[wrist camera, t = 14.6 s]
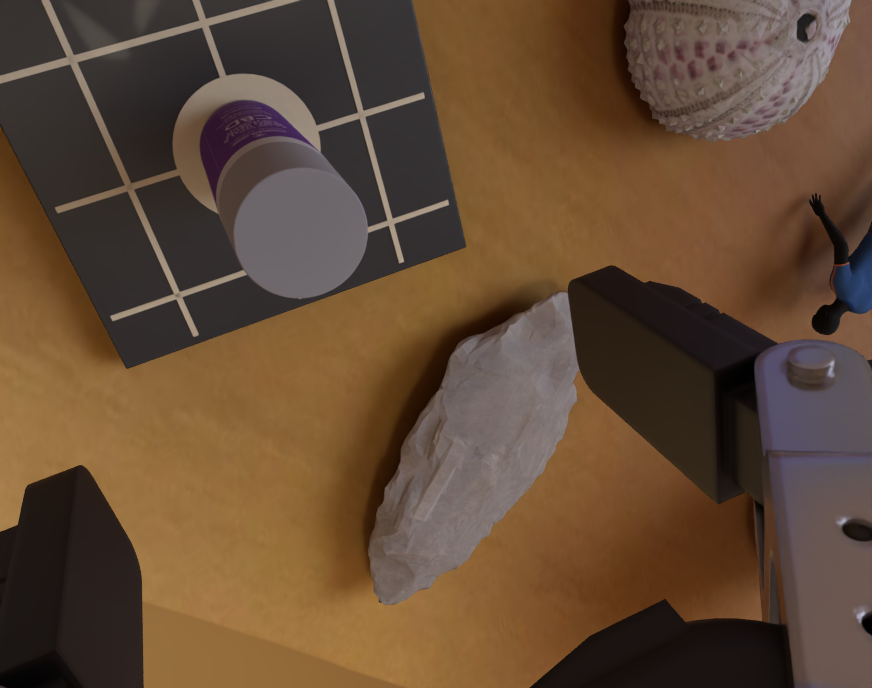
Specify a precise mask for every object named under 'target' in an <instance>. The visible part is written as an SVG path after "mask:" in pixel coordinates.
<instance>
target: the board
mask: <svg viewBox="0 0 872 688" xmlns="http://www.w3.org/2000/svg"><path fill="white" fill-rule="evenodd" d="M236 100H254V101H259V102H262V103H264V104H266V105H268V106H270V107H272V108H273V109H275V110H276V111H277V112H279V113H280V114H281V115H282V116H283V117H284V118H285V119H286V120H287V121H288V122H289V123H290V124H291V125H292V126H293V127H294V128H295V129H297V130H298V131H299V132H300V133H301V134H302V135H303V136H304V137H305V138H306V139H307V140H308V141H309V142H310V143H311V144H312V145H313V146H314V147H315V148H316V149H317V150H318V151H319V152H320V153H321V154H322V155H323V156H324V157H325V158H326V159H327V160H328V162H329V163H330V164H331V165H332V167H333V168H334V169H335V170H336V171H337V172H338V174H339V175H340V176H341V177H342V178H343V179H344V181H345V182H346V183H347V184H348V185H349V186H350V188H351V189H352V190H353V191H354V192H355V194H356V195H357V196H358V198H359V200H360V202H361V203H362V206H363V208H364V211H365V214H366V218H367V224H368V238H367V244H366V248H365V252H364V254H363V257H362V259H361V261H360V263H359V265H358V266H357V268H356V269H355V271H354V272H353V273H352V274H351V275H350V277H349V278H347V279H346V280H345V281H344V282H343V283H342V284H340V285H339V286H338V287H336V288H334V289H333V290H331V291H329V292H327V293H324V294H321V295H318V296H314V297H309V298H288V297H283V296H279V295H276V294H273V293H271V292H269V291H267V290H265V289H263V288H262V287H260V286H259V285H257V284H256V283H255V282H254V281H253V280H252V279H251V278H250V277H249V276H248V275H247V274H246V273H245V271H244V270H243V268H242V267H241V265H240V263H239V261H238V259H237V256H236V254H235V252H234V249H233V247H232V245H231V242H230V240H229V238H228V235H227V233H226V231H225V228H224V226H223V224H222V221H221V219H220V216H219V214H218V211H217V207H216V204H215V201H214V198H213V195H212V192H211V188H210V185H209V182H208V179H207V176H206V173H205V169H204V166H203V163H202V160H201V155H200V147H199V143H200V135H201V131H202V128H203V126H204V124H205V122H206V120H207V119H208V117H209V116H210V115H211V114H212V113H213V112H214V111H215V110H216V109H218V108H219V107H221V106H222V105H224V104H226V103H229V102H232V101H236ZM0 126H1V128H2V130H3V132H4V134H5V135H6V137H7V139H8V141H9V143H10V145H11V147H12V149H13V151H14V153H15V155H16V157H17V159H18V161H19V162H20V164H21V166H22V168H23V170H24V172H25V174H26V176H27V178H28V180H29V182H30V184H31V186H32V188H33V190H34V191H35V193H36V195H37V197H38V199H39V201H40V203H41V205H42V207H43V209H44V211H45V213H46V215H47V217H48V218H49V220H50V222H51V224H52V226H53V228H54V230H55V232H56V234H57V236H58V238H59V240H60V242H61V244H62V245H63V247H64V249H65V251H66V253H67V255H68V257H69V259H70V261H71V263H72V265H73V267H74V269H75V271H76V272H77V274H78V276H79V278H80V280H81V282H82V284H83V286H84V288H85V290H86V292H87V294H88V296H89V298H90V299H91V301H92V303H93V305H94V307H95V309H96V311H97V313H98V315H99V317H100V319H101V321H102V323H103V325H104V326H105V328H106V330H107V332H108V334H109V336H110V338H111V340H112V342H113V344H114V346H115V348H116V350H117V352H118V354H119V355H120V357H121V359H122V361H123V363H124V365H125V367H126V368H127V369H128V368H131V367H134V366H136V365H139V364H142V363H145V362H148V361H150V360H153V359H156V358H159V357H161V356H164V355H167V354H170V353H173V352H175V351H178V350H181V349H184V348H187V347H189V346H192V345H195V344H198V343H200V342H203V341H206V340H209V339H212V338H214V337H217V336H220V335H223V334H225V333H228V332H231V331H234V330H237V329H239V328H242V327H245V326H248V325H251V324H253V323H256V322H259V321H262V320H264V319H267V318H270V317H273V316H276V315H278V314H281V313H284V312H287V311H289V310H292V309H295V308H298V307H301V306H303V305H306V304H309V303H312V302H315V301H317V300H320V299H323V298H326V297H328V296H331V295H334V294H337V293H340V292H342V291H345V290H348V289H351V288H353V287H356V286H359V285H362V284H365V283H367V282H370V281H373V280H376V279H379V278H381V277H384V276H387V275H390V274H392V273H395V272H398V271H401V270H404V269H406V268H409V267H412V266H415V265H417V264H420V263H423V262H426V261H429V260H431V259H434V258H437V257H440V256H443V255H445V254H448V253H451V252H454V251H456V250H459V249H462V248H465V247H466V243H465V239H464V234H463V230H462V225H461V221H460V216H459V211H458V207H457V202H456V198H455V193H454V189H453V184H452V180H451V175H450V171H449V166H448V162H447V157H446V152H445V148H444V143H443V139H442V134H441V130H440V125H439V121H438V116H437V112H436V107H435V103H434V98H433V93H432V89H431V84H430V80H429V75H428V71H427V66H426V62H425V57H424V53H423V48H422V43H421V39H420V34H419V30H418V25H417V21H416V16H415V12H414V7H413V3H412V0H0Z"/></svg>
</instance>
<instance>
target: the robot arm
mask: <svg viewBox="0 0 872 688" xmlns="http://www.w3.org/2000/svg"><path fill="white" fill-rule="evenodd" d="M568 300H569V307H570V314H571V321H572V328H573V335H574V342H575V349H576V357H577V362H578V366H579V369H580V372H581V374H582V376H583V378H584V380H585V382H586V384H587V385H588V387H589V388H590V389H591V391H592V392H593V393H594V394H595V395H596V396H597V397H599V398H600V399H601V400H602V401H603V402H604V403H605V404H606V405H607V406H609V407H610V408H611V409H612V410H613V411H614V412H615V413H616V414H617V415H619V416H620V417H621V418H622V419H623V420H624V421H625V422H626V423H628V424H629V425H630V426H631V427H632V428H633V429H634V430H635V431H636V432H638V433H639V434H640V435H641V436H642V437H643V438H644V439H645V440H646V441H648V442H649V443H650V444H651V445H652V446H653V447H654V448H655V449H656V450H658V451H659V452H660V453H661V454H662V455H663V456H664V457H665V458H666V459H668V460H669V461H670V462H671V463H672V464H673V465H674V466H675V467H677V468H678V469H679V470H680V471H681V472H682V473H683V474H684V475H685V476H687V477H688V478H689V479H690V480H691V481H692V482H693V483H694V484H695V485H697V486H698V487H699V488H700V489H701V490H702V491H703V492H704V493H705V494H707V495H708V496H709V497H710V498H711V499H712V500H713V501H714V502H716V503H717V504H720V503H723V502H725V501H727V500H729V499H731V498H733V497H735V496H737V495H740V494H742V493H744V492H746V493H748V494H749V495H750V496H751V497H752V498H754V525H755V538H756V550H757V562H758V574H759V586H760V598H761V610H762V621H756V620H746V619H733V618H714V619H704V620H694V621H689V622H685V621H684V620H683V619H682V618H681V617H680V616H679V615H678V613H677V612H676V611H675V610H674V609H673V608H672V606H671V605H670V604H669V603H668V602H667V601H666V599H664V600H662V601H660V602H658V603H656V604H654V605H652V606H650V607H648V608H646V609H644V610H642V611H640V612H638V613H636V614H634V615H632V616H630V617H627V618H625V619H623V620H621V621H619V622H617V623H615V624H613V625H611V626H609V627H607V628H605V629H603V630H601V631H599V632H597V633H595V634H593V635H591V636H589V637H588V638H587V639H586V640H585V641H584V642H582V643H581V644H580V645H579V646H578V647H577V648H575V649H574V650H573V651H572V652H571V653H570V654H568V655H567V656H566V657H565V658H564V659H563V660H561V661H560V662H559V663H558V664H557V665H556V666H554V667H553V668H552V669H551V670H550V671H549V672H547V673H546V674H545V675H544V676H543V677H542V678H540V679H539V680H538V681H537V682H536V683H535V684H533V685H532V686H531V687H530V688H872V360H868V361H867V360H866V359H865V358H864V357H863V356H862V355H861V354H860V353H858V352H857V351H855V350H853V349H851V348H849V347H846V346H844V345H841V344H837V343H834V342H829V341H822V340H794V341H788V342H784V343H780V344H778V343H776V342H774V341H773V340H771V339H769V338H767V337H766V336H764V335H762V334H760V333H758V332H757V331H755V330H753V329H751V328H750V327H748V326H746V325H744V324H742V323H741V322H739V321H737V320H735V319H734V318H732V317H730V316H728V315H727V314H725V313H722V314H720V312H719V310H718V309H716V308H714V307H712V306H711V305H709V304H707V303H703V304H702V302H701V300H700V299H698V298H696V297H695V296H693V295H691V294H689V293H688V292H686V291H684V290H682V289H681V288H678V287H674V286H669V285H665V284H660V283H656V282H652V281H648V282H646V283H643V282H641V281H640V280H638V279H636V278H635V277H633V276H631V275H630V274H628V273H626V272H625V271H623V270H621V269H620V268H618V267H616V266H612V265H611V266H608V267H605V268H602V269H600V270H597V271H594V272H592V273H589V274H586V275H584V276H581V277H579V278H576V279H573V280H571V281H570V283H569V285H568ZM0 688H144V686H143V624H142V577H141V570H140V566H139V562H138V559H137V556H136V553H135V550H134V548H133V545H132V543H131V541H130V539H129V538H128V536H127V534H126V532H125V531H124V529H123V527H122V526H121V524H120V522H119V521H118V519H117V517H116V515H115V514H114V512H113V510H112V509H111V507H110V505H109V504H108V502H107V500H106V498H105V497H104V495H103V493H102V492H101V490H100V488H99V487H98V485H97V483H96V481H95V480H94V478H93V477H92V475H91V474H90V472H89V471H88V470H87V469H86V468H85V467H84V466H82V465H79V466H76V467H74V468H71V469H68V470H66V471H63V472H60V473H58V474H55V475H53V476H50V477H47V478H45V479H42V480H39V481H37V482H34V483H31V484H29V485H28V486H27V487H26V489H25V493H24V498H23V503H22V507H21V512H20V517H19V522H18V525H17V526H14V527H12V528H9V529H7V530H4V531H1V532H0Z"/></svg>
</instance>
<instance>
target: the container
mask: <svg viewBox="0 0 872 688" xmlns="http://www.w3.org/2000/svg"><path fill="white" fill-rule="evenodd" d="M199 147H200V155H201V160H202V163H203V166H204V169H205V173H206V176H207V179H208V182H209V185H210V188H211V192H212V195H213V198H214V201H215V204H216V207H217V211H218V214H219V216H220V219H221V221H222V224H223V226H224V228H225V231H226V233H227V235H228V238H229V240H230V242H231V245H232V247H233V249H234V252H235V254H236V256H237V259H238V261H239V263H240V265H241V267H242V268H243V270H244V271H245V273H246V274H247V275H248V276H249V277H250V278H251V279H252V280H253V281H254V282H255V283H256V284H257V285H259V286H260V287H262V288H263V289H265V290H267V291H269V292H271V293H273V294H276V295H279V296H283V297H288V298H309V297H314V296H318V295H321V294H324V293H327V292H329V291H331V290H333V289H334V288H336V287H338V286H339V285H340V284H342V283H343V282H344V281H345V280H346V279H347V278H349V277H350V275H351V274H352V273H353V272H354V271H355V269H356V268H357V266H358V265H359V263H360V261H361V259H362V257H363V254H364V252H365V248H366V244H367V238H368V224H367V218H366V214H365V211H364V208H363V206H362V203H361V202H360V200H359V198H358V196H357V195H356V194H355V192H354V191H353V190H352V189H351V188H350V186H349V185H348V184H347V183H346V182H345V181H344V179H343V178H342V177H341V176H340V175H339V174H338V172H337V171H336V170H335V169H334V168H333V167H332V165H331V164H330V163H329V162H328V160H327V159H326V158H325V157H324V156H323V155H322V154H321V153H320V152H319V151H318V150H317V149H316V148H315V147H314V146H313V145H312V144H311V143H310V142H309V141H308V140H307V139H306V138H305V137H304V136H303V135H302V134H301V133H300V132H299V131H298V130H297V129H295V128H294V127H293V126H292V125H291V124H290V123H289V122H288V121H287V120H286V119H285V118H284V117H283V116H282V115H281V114H280V113H279V112H277V111H276V110H275V109H273V108H272V107H270V106H268V105H266V104H264V103H262V102H259V101H254V100H236V101H232V102H229V103H226V104H224V105H222V106H221V107H219V108H218V109H216V110H215V111H214V112H213V113H212V114H211V115H210V116H209V117H208V119H207V120H206V122H205V124H204V126H203V128H202V131H201V135H200V143H199Z"/></svg>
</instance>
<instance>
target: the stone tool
mask: <svg viewBox="0 0 872 688" xmlns="http://www.w3.org/2000/svg"><path fill="white" fill-rule="evenodd" d="M578 370H579V366H578V362H577V357H576V349H575V342H574V335H573V328H572V321H571V314H570V307H569V300H568V293H565V292H559V291H558V292H556V293H552V294H551V295H550V296H548V297H547V298H546V299H545V300H542V301H540V302H537V303H535V304H534V305H533V306H532V307H531V308H529V309H528V310H526V311H525V312H520V313H515V314H514V315H513V316H512V317H510V318H509V319H508V320H507V321H505V322H504V323H502V324H500V325H498V326H496V327H494V328H492V329H490V330H489V331H487V332H485V333H483V334H478V335H473V336H469V337H467V338H465V339H464V340H462V341H461V342H459V343H458V345H457V347H456V348H455V350H454V352H453V353H452V355H451V356H450V358H449V360H448V365H447V370H446V373H445V376H444V378H443V381H442V384H441V386H440V388H439V390H438V392H437V393H436V394H435V395H433V396H432V397H431V399H430V401H429V402H428V404H427V405H426V407H425V408H424V409H423V411H422V412H421V413H420V414H419V417H418V419H417V422H416V424H415V425H414V427H413V428H412V430H411V431H410V433H409V434H408V435H407V437H406V439H405V441H404V443H403V445H402V448H401V461H400V464H399V467H398V469H397V471H396V473H395V475H394V476H393V478H392V479H391V481H390V482H389V483H388V485H387V486H386V487H385V491H384V502H383V503H382V504H381V505H380V506H379V507H378V508H377V513H376V521H375V527H374V530H373V532H372V534H371V537H370V542H369V548H368V555H369V558H370V573H371V576H372V579H373V589H374V593H375V595H376V596H377V597H378V598H379V602H380V603H383V604H384V605H394V604H397V603H399V602H401V601H404V600H406V599H408V598H409V597H411V596H412V595H413V594H414V593H416V592H417V591H419V590H424V589H429V588H430V587H431V586H432V584H433V583H434V581H435V579H436V578H437V577H439V576H440V575H441V574H442V573H445V572H448V571H451V570H453V569H456V568H458V567H459V566H460V565H462V564H463V563H464V562H465V561H467V560H468V559H469V557H470V555H471V554H472V552H473V551H474V549H475V548H476V546H477V545H478V543H479V542H480V541H481V540H482V539H483V538H484V537H486V536H488V535H489V534H490V531H491V528H492V526H493V525H494V524H495V523H497V522H498V521H500V520H502V519H503V517H504V515H505V514H506V513H507V512H508V511H509V510H510V509H511V508H512V506H513V505H514V504H515V503H516V502H517V501H518V500H519V499H520V498H521V497H522V495H523V494H524V493H525V492H526V491H527V490H528V489H530V487H531V486H532V484H533V482H534V481H535V479H536V478H537V477H539V476H540V475H541V474H542V473H543V471H544V469H545V465H546V463H547V461H548V460H549V458H550V457H551V455H552V454H553V453H554V452H555V448H556V444H557V443H558V442H559V441H560V440H561V439H562V438H563V436H564V433H565V429H566V426H567V422H568V414H569V412H570V409H571V407H572V405H573V404H574V403H576V402H577V401H578V399H577V397H576V392H577V390H576V388H575V385H574V383H573V382H574V378H575V376H576V374H577V372H578Z"/></svg>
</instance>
